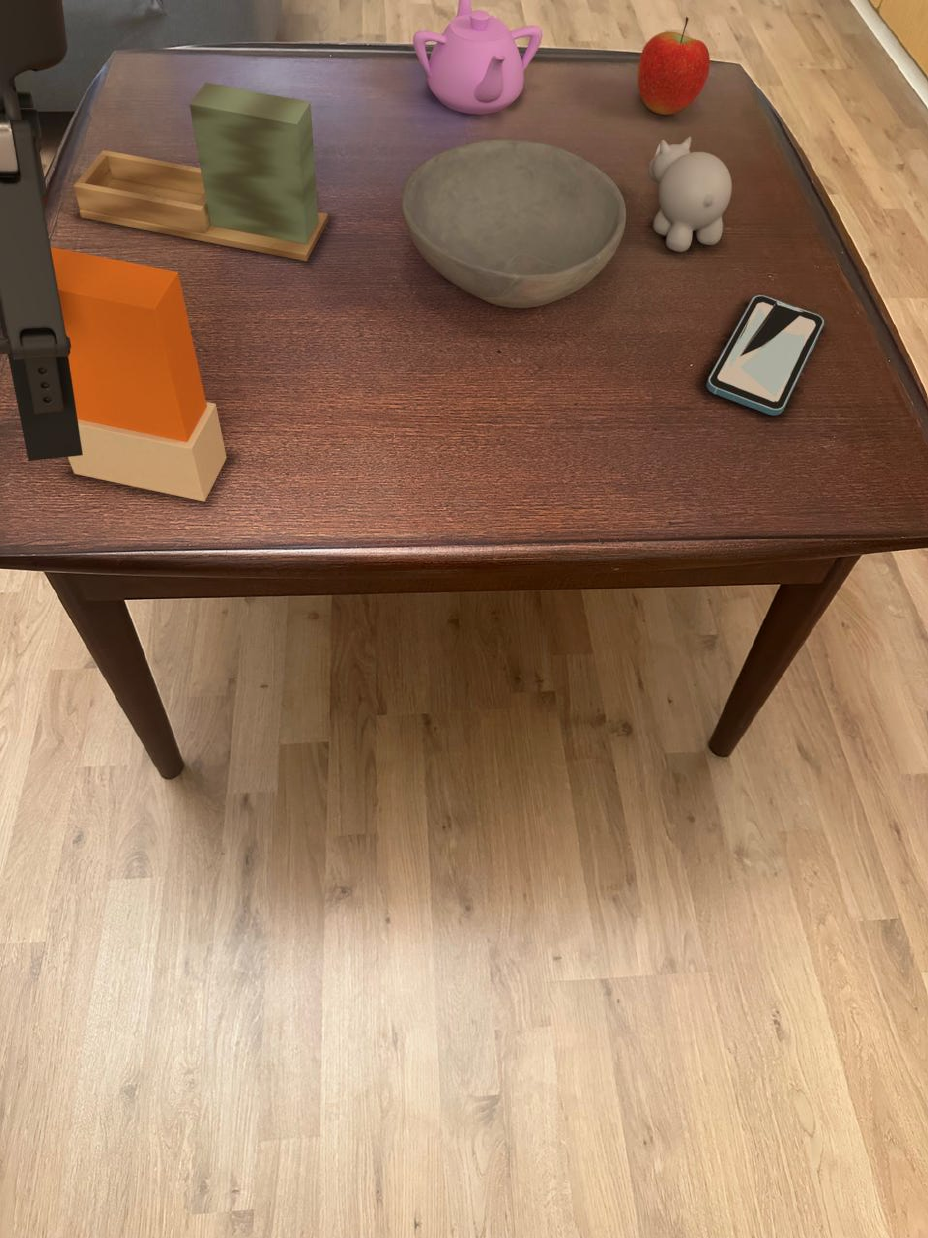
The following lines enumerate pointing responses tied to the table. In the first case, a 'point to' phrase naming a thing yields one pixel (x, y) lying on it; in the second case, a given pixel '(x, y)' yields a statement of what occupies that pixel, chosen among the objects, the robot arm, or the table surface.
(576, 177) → the bowl
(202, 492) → the pad riser
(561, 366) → the table surface
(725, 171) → the round bodied animal figurine
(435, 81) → the teapot
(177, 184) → the pad holder
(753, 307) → the smartphone
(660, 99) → the apple
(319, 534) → the table surface
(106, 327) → the orange rectangular block
